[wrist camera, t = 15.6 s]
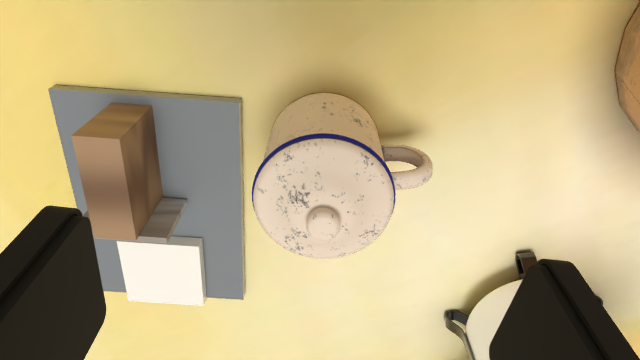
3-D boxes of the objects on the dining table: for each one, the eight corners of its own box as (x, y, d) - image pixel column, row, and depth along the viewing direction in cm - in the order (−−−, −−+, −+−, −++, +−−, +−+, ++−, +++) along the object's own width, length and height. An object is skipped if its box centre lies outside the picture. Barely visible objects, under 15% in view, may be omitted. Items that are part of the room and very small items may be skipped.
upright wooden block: (84, 100, 33) (38, 133, 28) (179, 107, 33) (151, 141, 28) (103, 197, 37) (67, 241, 32) (187, 202, 37) (164, 247, 32)
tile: (116, 241, 38) (128, 301, 41) (198, 246, 38) (203, 305, 41) (122, 232, 39) (133, 290, 42) (202, 237, 39) (206, 295, 42)
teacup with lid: (277, 195, 38) (258, 293, 28) (258, 94, 33) (228, 166, 23) (417, 183, 37) (451, 279, 27) (418, 78, 33) (458, 146, 23)
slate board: (55, 84, 33) (48, 89, 32) (241, 98, 34) (239, 102, 33) (101, 283, 43) (97, 290, 42) (245, 292, 44) (243, 299, 43)
